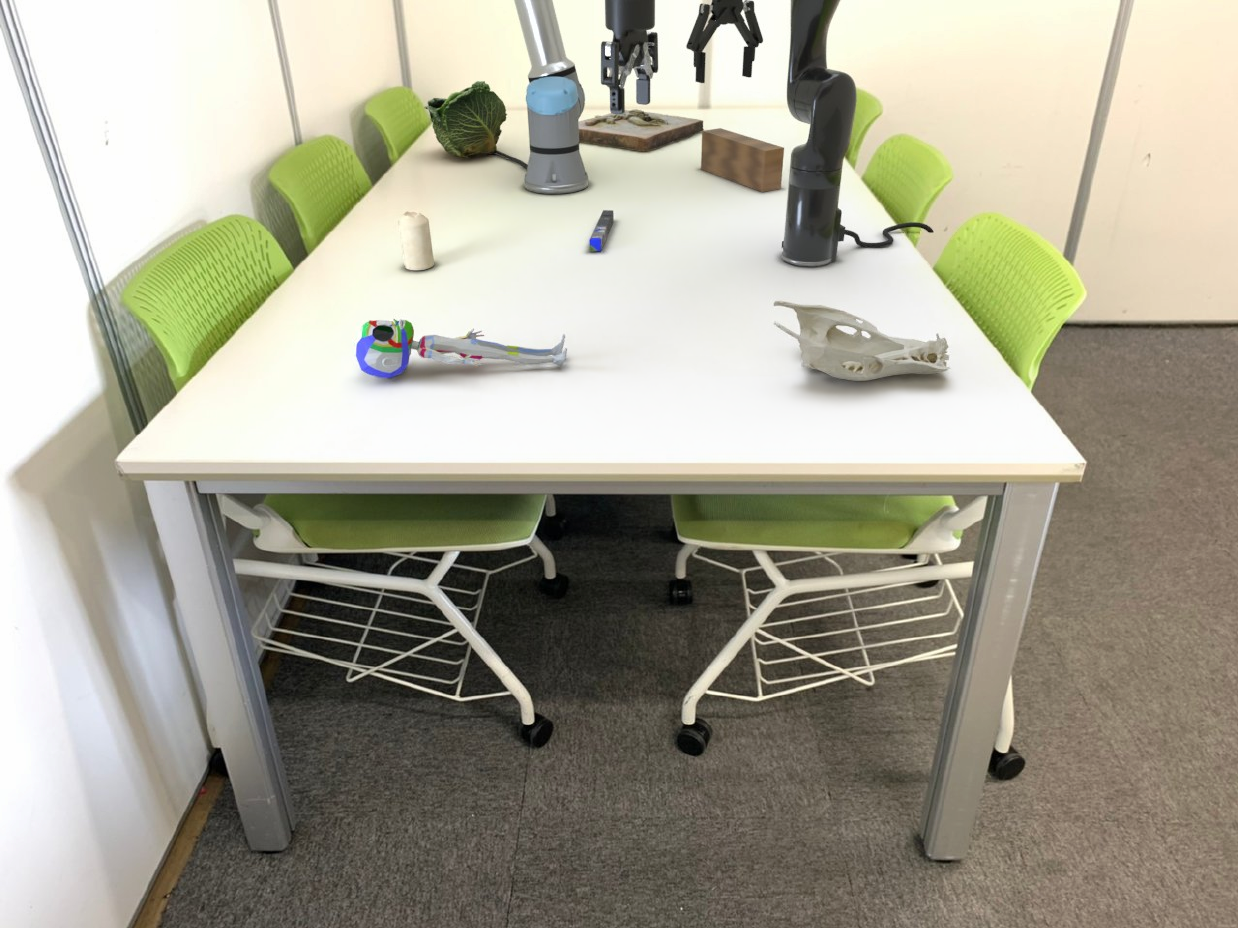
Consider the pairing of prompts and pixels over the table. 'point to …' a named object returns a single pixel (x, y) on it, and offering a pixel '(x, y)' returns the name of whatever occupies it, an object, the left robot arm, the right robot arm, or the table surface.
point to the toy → (435, 349)
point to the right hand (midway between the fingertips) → (630, 108)
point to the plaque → (637, 130)
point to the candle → (416, 241)
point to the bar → (742, 159)
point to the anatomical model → (860, 346)
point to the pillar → (601, 230)
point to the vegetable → (468, 120)
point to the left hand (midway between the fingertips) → (723, 79)
